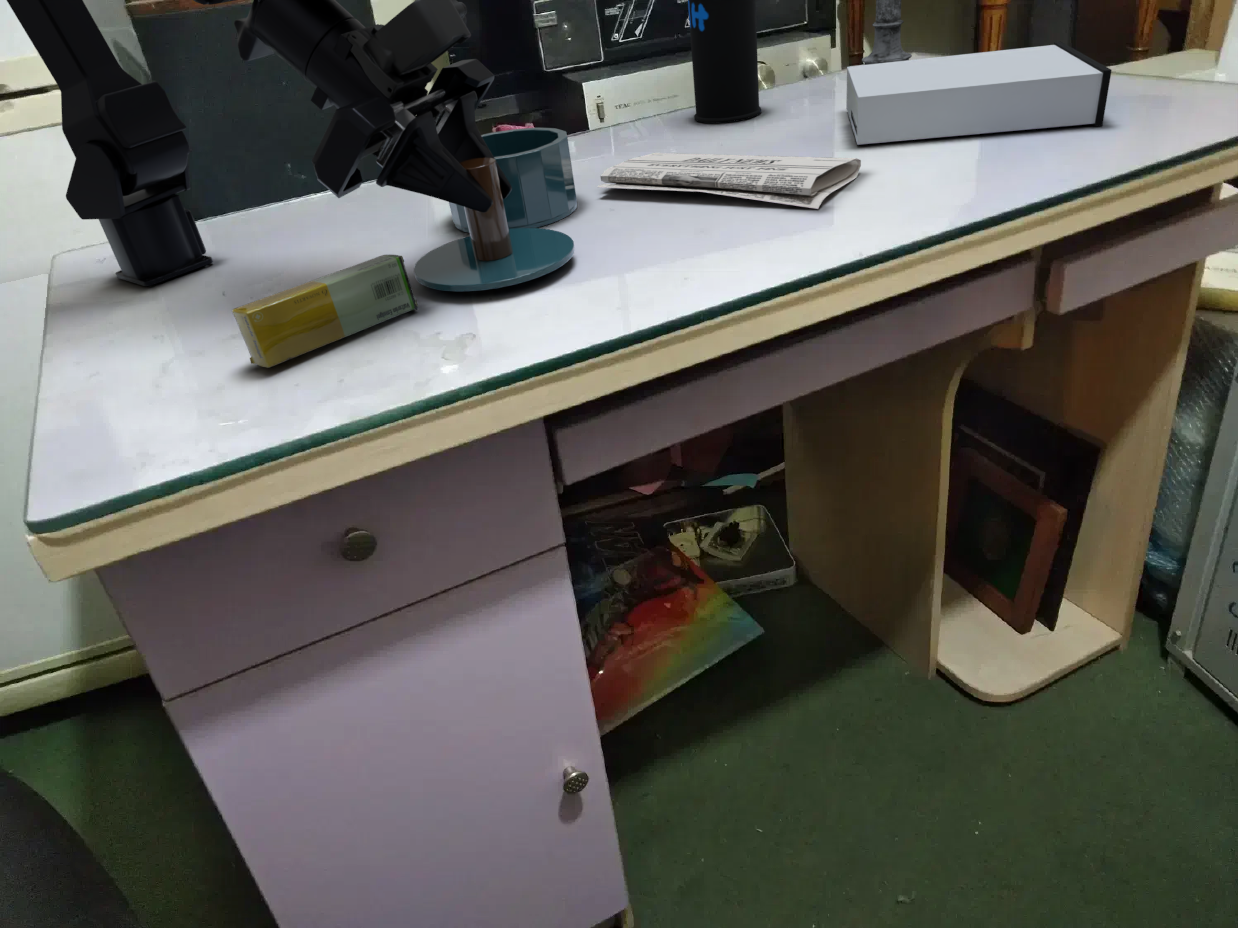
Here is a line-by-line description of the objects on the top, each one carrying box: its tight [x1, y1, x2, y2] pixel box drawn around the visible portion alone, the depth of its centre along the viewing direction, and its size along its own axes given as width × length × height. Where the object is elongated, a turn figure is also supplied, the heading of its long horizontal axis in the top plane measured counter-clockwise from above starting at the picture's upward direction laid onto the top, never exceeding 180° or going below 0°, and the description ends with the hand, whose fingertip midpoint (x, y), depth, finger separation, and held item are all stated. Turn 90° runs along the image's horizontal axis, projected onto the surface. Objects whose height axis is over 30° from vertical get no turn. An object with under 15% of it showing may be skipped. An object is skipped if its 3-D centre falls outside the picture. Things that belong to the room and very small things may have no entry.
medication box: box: [231, 254, 419, 369], centre depth 60 cm, size 12×3×4 cm, turn 135°
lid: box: [413, 158, 576, 292], centre depth 66 cm, size 13×13×8 cm
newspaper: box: [597, 152, 862, 210], centre depth 81 cm, size 23×12×2 cm, turn 54°
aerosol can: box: [687, 0, 762, 124], centre depth 102 cm, size 8×8×20 cm
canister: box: [448, 127, 578, 234], centre depth 80 cm, size 12×12×6 cm
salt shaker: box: [861, 0, 913, 65], centre depth 106 cm, size 6×6×12 cm
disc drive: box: [845, 41, 1113, 146], centre depth 90 cm, size 18×22×5 cm
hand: (499, 200), depth 65 cm, fingers closed on lid, 3 cm apart
